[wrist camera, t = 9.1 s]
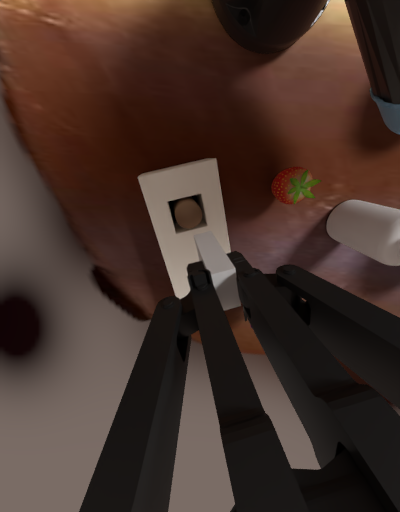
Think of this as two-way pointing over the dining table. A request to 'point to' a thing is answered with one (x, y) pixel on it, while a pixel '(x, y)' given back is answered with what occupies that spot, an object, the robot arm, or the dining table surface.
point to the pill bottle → (367, 229)
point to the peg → (187, 212)
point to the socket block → (171, 233)
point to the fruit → (293, 185)
